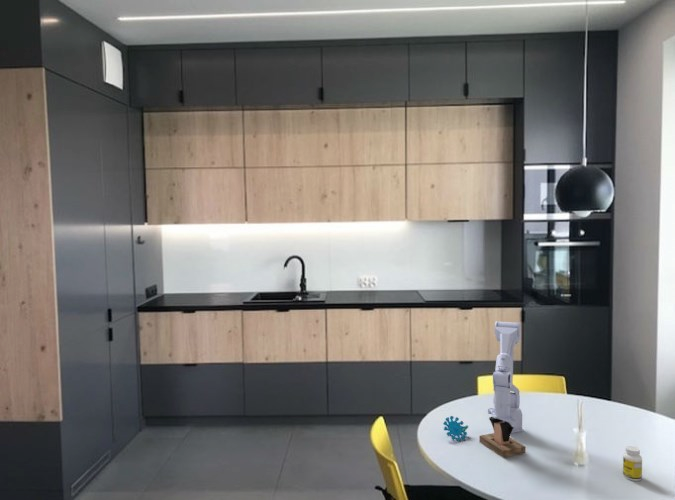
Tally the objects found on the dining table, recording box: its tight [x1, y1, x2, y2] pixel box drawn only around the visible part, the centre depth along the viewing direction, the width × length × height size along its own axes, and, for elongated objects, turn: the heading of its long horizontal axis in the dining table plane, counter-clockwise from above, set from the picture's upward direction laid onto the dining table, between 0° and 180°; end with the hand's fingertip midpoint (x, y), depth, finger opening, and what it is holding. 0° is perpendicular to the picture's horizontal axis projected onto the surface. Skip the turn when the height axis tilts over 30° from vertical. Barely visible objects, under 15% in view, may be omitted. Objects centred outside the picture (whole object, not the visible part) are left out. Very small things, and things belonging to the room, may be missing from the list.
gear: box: [443, 415, 469, 442], centre depth 200 cm, size 11×6×10 cm
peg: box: [493, 421, 510, 445], centre depth 190 cm, size 4×4×8 cm
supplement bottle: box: [622, 445, 643, 482], centre depth 166 cm, size 5×5×10 cm
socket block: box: [479, 432, 527, 459], centre depth 190 cm, size 10×14×2 cm
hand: (501, 438), depth 190 cm, fingers closed on peg, 4 cm apart
